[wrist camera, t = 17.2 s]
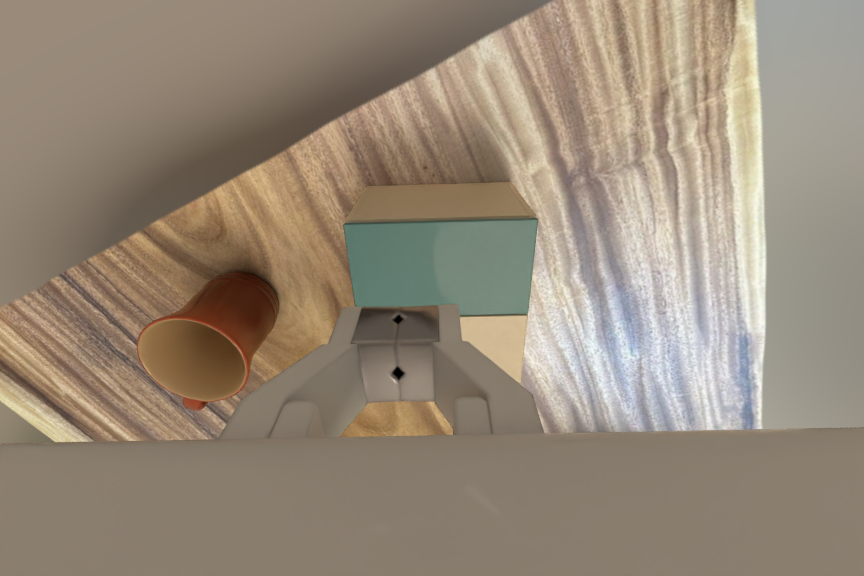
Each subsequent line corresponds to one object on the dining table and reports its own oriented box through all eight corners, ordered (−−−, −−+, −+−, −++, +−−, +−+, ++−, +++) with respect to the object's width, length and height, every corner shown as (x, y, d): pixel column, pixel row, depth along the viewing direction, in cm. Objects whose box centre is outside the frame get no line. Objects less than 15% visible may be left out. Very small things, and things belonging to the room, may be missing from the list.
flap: (344, 222, 26) (343, 224, 25) (536, 217, 25) (538, 219, 25) (357, 314, 29) (356, 317, 29) (526, 311, 29) (528, 313, 29)
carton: (366, 185, 34) (342, 223, 25) (511, 181, 34) (539, 218, 25) (381, 324, 41) (367, 392, 32) (501, 322, 41) (520, 389, 32)
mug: (210, 248, 37) (138, 301, 28) (298, 279, 39) (257, 339, 30) (195, 339, 43) (131, 409, 34) (273, 363, 44) (232, 436, 35)
